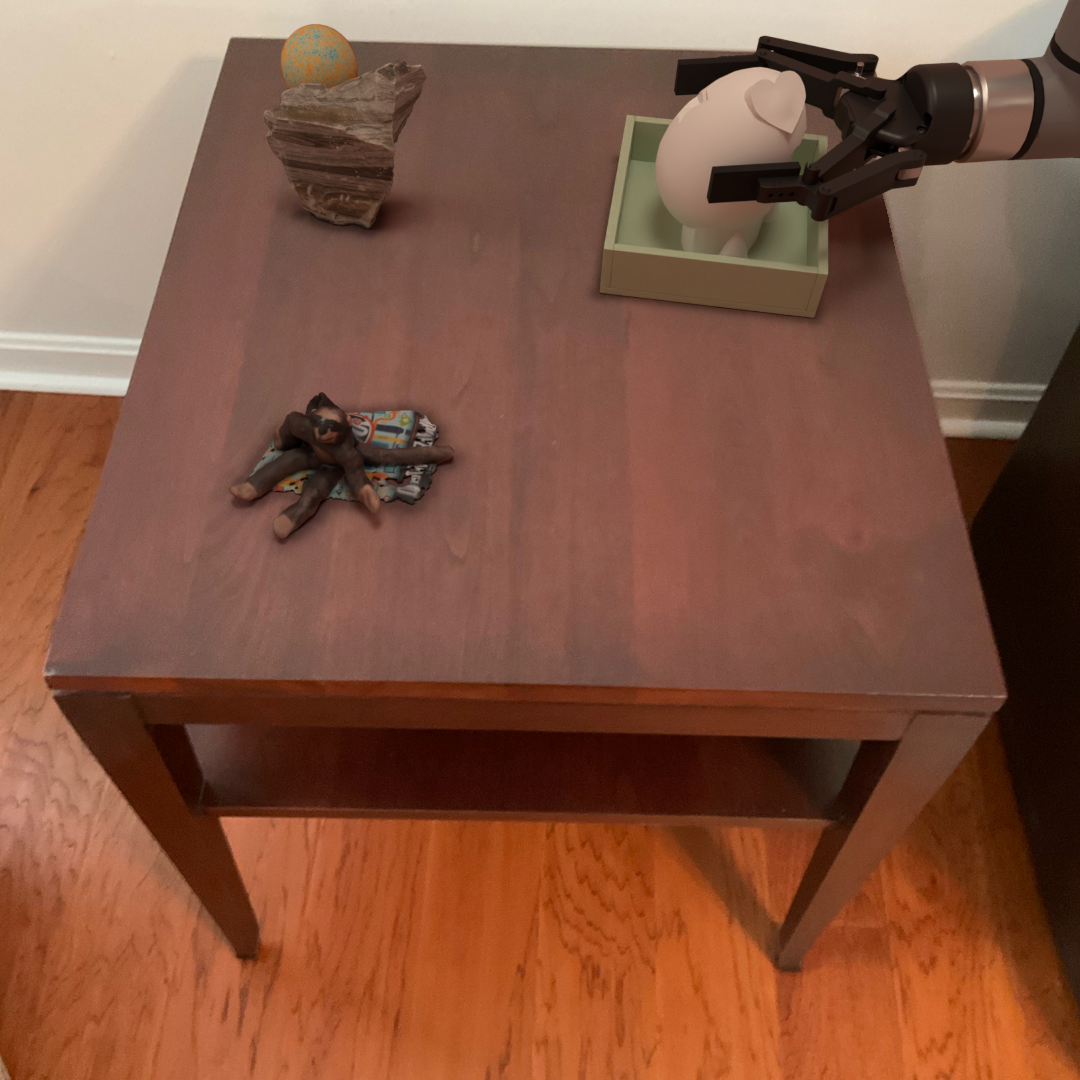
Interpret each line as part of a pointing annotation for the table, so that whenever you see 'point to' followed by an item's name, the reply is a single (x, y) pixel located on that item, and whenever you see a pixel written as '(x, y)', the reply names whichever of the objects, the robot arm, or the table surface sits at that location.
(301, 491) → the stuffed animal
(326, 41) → the ball
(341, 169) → the rock
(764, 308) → the tote
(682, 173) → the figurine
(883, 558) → the table surface
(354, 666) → the table surface
